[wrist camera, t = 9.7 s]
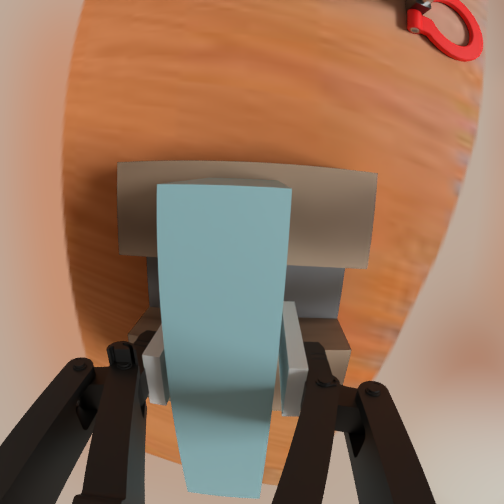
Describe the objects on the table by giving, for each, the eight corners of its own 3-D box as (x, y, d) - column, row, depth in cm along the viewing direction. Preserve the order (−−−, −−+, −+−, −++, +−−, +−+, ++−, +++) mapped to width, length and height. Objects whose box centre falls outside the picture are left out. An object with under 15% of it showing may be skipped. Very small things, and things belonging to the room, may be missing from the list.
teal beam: (261, 401, 21) (259, 498, 13) (209, 397, 22) (188, 491, 13) (277, 180, 17) (292, 188, 9) (208, 177, 17) (156, 184, 9)
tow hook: (473, 14, 18) (402, -24, 17) (548, -21, 5) (465, -87, 5) (478, 75, 20) (403, 37, 19) (570, 54, 7) (489, -21, 7)
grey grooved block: (150, 163, 23) (117, 162, 17) (350, 172, 23) (377, 173, 17) (158, 357, 28) (138, 395, 22) (324, 368, 27) (335, 410, 22)
